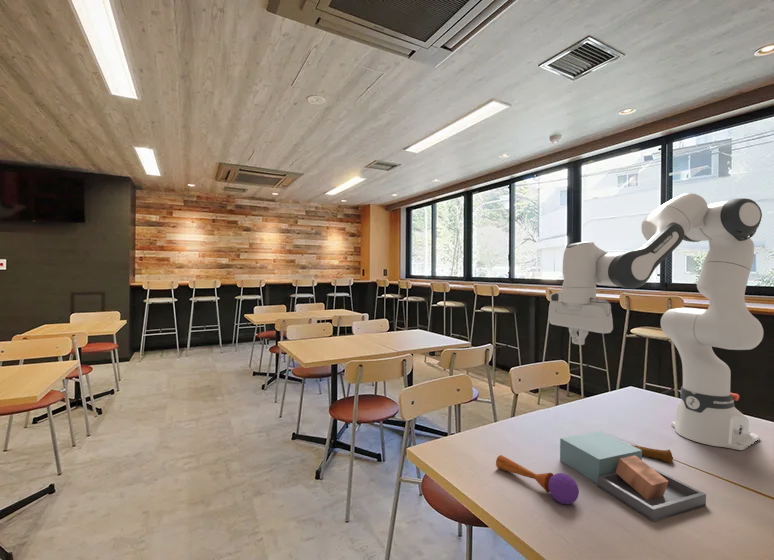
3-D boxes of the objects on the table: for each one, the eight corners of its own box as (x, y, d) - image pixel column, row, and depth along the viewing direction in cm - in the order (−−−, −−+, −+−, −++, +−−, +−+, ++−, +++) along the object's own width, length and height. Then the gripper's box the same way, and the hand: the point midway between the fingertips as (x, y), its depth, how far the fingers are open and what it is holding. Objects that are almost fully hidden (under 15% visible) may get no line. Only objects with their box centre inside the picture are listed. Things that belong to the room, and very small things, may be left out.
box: (646, 474, 93) (646, 464, 93) (705, 505, 80) (706, 494, 80) (597, 486, 87) (597, 476, 87) (653, 521, 75) (653, 509, 75)
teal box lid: (599, 452, 104) (600, 430, 104) (641, 474, 93) (642, 450, 93) (560, 460, 100) (560, 438, 99) (598, 484, 88) (599, 459, 88)
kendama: (508, 448, 98) (584, 477, 82) (506, 472, 97) (583, 506, 81) (493, 450, 95) (569, 480, 78) (491, 475, 94) (568, 511, 77)
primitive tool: (589, 445, 109) (590, 433, 109) (593, 439, 113) (593, 427, 113) (672, 467, 97) (673, 453, 97) (673, 459, 102) (673, 446, 101)
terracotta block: (635, 455, 89) (668, 481, 82) (630, 469, 90) (663, 495, 83) (619, 458, 88) (652, 485, 80) (615, 472, 89) (647, 500, 82)
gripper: (619, 299, 101) (618, 350, 101) (561, 294, 120) (560, 337, 120) (601, 299, 99) (600, 351, 99) (545, 295, 118) (544, 338, 118)
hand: (578, 344), depth 110 cm, fingers closed
